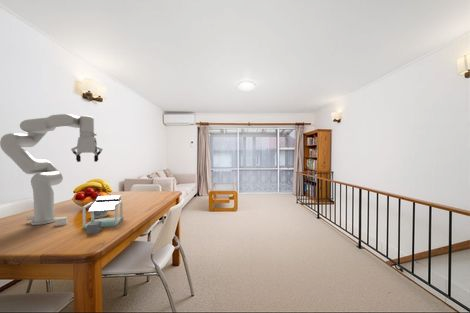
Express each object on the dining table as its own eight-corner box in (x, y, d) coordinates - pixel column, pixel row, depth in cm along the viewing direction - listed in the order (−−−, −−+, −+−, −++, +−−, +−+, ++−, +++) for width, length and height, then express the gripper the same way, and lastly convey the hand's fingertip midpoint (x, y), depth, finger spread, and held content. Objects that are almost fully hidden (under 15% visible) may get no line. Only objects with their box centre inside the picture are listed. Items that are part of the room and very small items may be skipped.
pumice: (55, 226, 123) (55, 219, 123) (57, 224, 126) (57, 217, 126) (66, 224, 125) (65, 218, 125) (67, 222, 129) (67, 216, 129)
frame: (81, 228, 118) (81, 207, 118) (92, 220, 132) (92, 201, 132) (116, 225, 123) (116, 205, 122) (123, 218, 137) (123, 199, 137)
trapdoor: (87, 215, 121) (86, 209, 120) (97, 201, 137) (96, 196, 136) (115, 213, 125) (114, 207, 124) (122, 200, 141) (121, 195, 139)
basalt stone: (86, 234, 110) (91, 230, 116) (97, 233, 111) (101, 229, 117) (86, 225, 110) (91, 221, 116) (97, 224, 111) (101, 221, 117)
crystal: (113, 214, 145) (113, 193, 145) (91, 219, 135) (91, 196, 134) (108, 212, 151) (108, 192, 151) (87, 216, 141) (86, 194, 141)
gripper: (104, 135, 138) (104, 161, 138) (74, 135, 133) (74, 161, 134) (99, 135, 131) (100, 161, 131) (68, 134, 126) (68, 162, 127)
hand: (87, 161), depth 132 cm, fingers open, 9 cm apart
